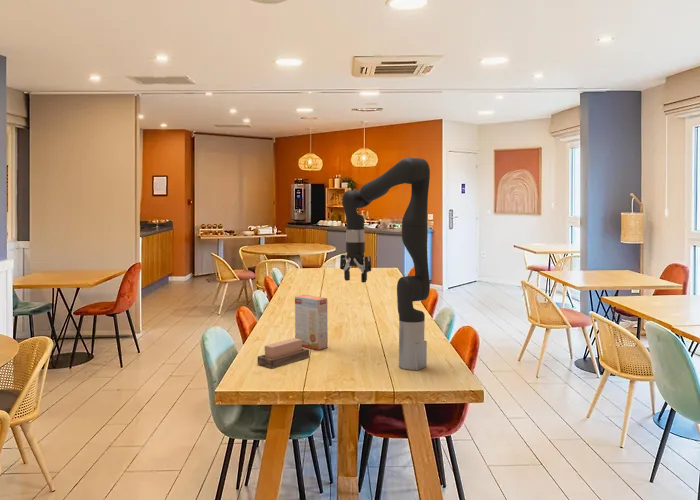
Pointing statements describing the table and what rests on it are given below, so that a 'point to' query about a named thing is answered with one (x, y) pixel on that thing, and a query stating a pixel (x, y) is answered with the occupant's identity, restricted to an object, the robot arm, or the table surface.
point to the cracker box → (311, 321)
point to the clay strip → (283, 348)
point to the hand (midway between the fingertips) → (355, 281)
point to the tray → (283, 359)
